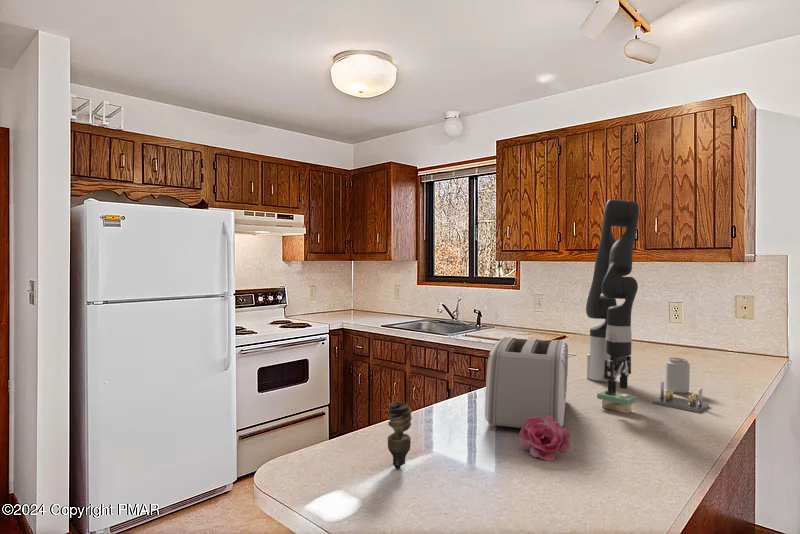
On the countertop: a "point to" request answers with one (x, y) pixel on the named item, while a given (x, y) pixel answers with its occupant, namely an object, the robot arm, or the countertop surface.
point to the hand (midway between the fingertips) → (617, 390)
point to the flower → (544, 437)
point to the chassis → (681, 401)
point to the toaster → (525, 381)
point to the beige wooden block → (616, 406)
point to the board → (617, 397)
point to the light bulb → (399, 432)
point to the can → (677, 375)
